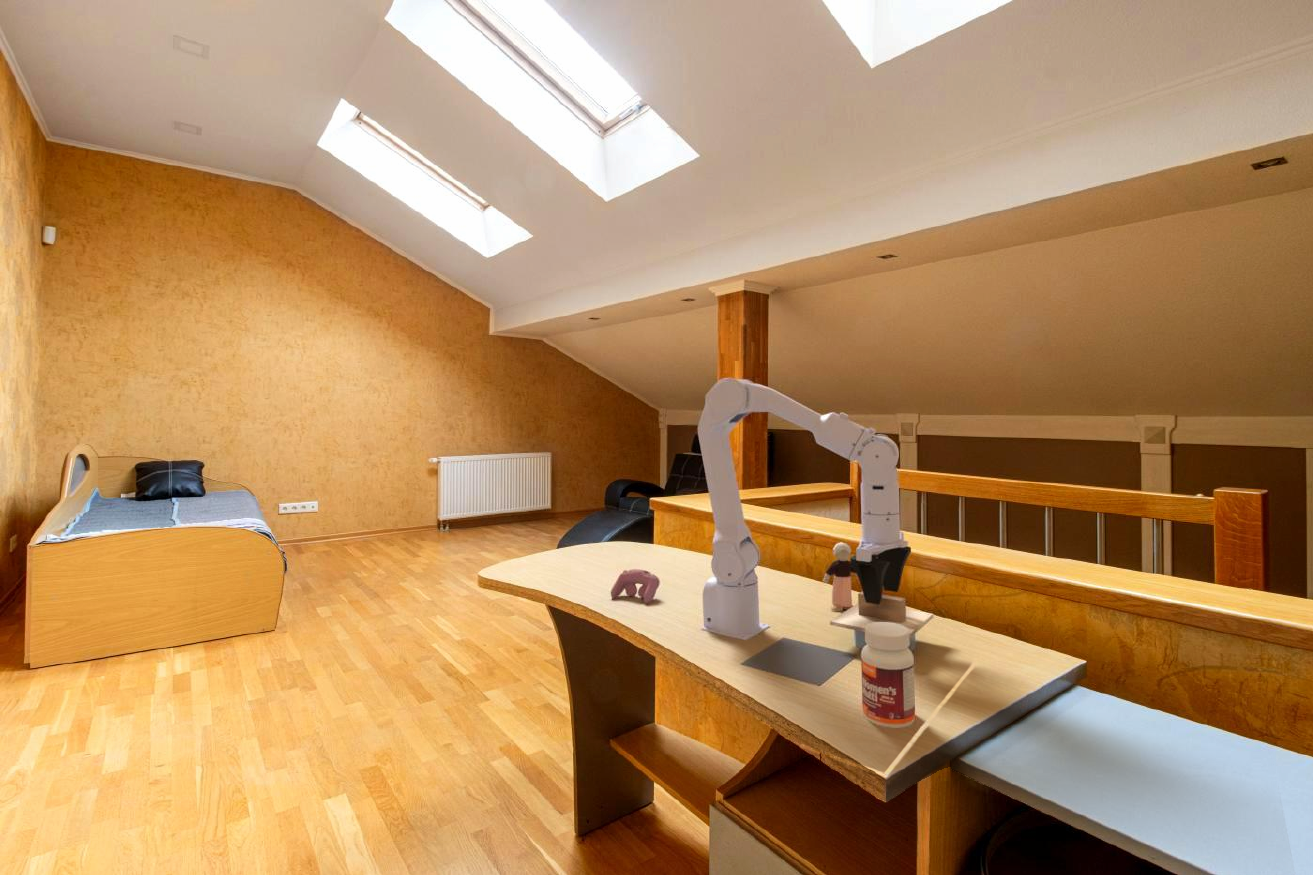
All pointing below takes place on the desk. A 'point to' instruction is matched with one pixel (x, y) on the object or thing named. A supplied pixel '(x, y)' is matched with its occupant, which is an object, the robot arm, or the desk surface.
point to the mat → (800, 661)
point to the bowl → (860, 643)
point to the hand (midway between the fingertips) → (882, 596)
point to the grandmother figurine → (841, 578)
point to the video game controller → (634, 577)
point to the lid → (882, 615)
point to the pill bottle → (888, 675)
